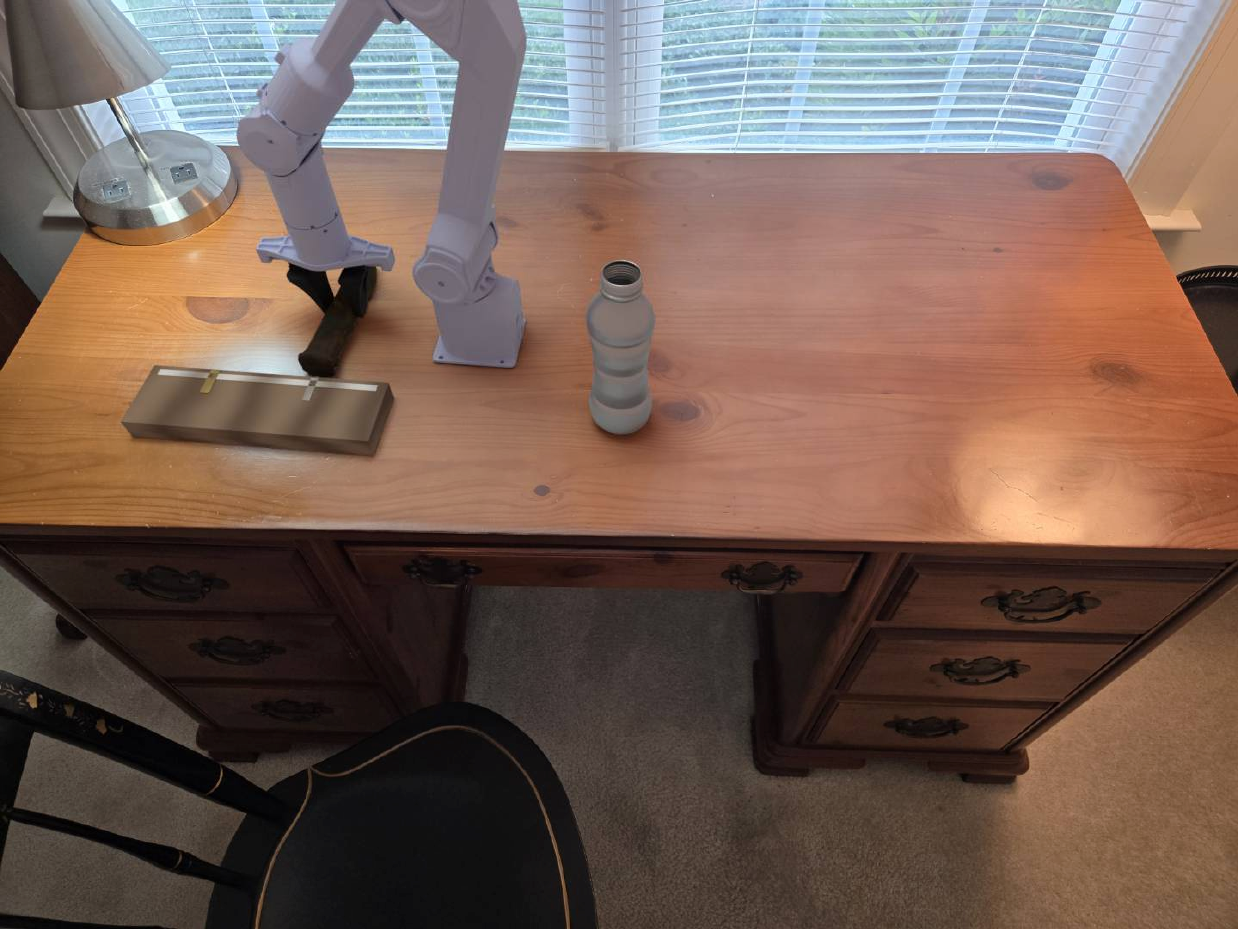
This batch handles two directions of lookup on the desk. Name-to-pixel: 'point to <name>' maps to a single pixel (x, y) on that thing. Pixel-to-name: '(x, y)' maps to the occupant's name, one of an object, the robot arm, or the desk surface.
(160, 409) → the grey brown flat box
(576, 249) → the desk surface
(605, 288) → the plastic bottle
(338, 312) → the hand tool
